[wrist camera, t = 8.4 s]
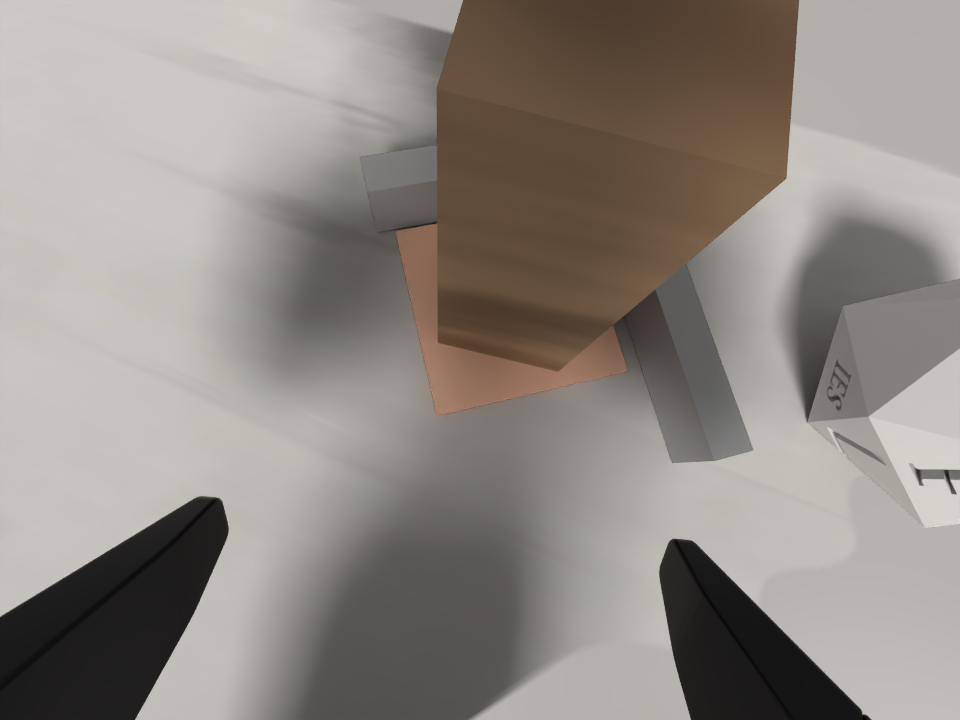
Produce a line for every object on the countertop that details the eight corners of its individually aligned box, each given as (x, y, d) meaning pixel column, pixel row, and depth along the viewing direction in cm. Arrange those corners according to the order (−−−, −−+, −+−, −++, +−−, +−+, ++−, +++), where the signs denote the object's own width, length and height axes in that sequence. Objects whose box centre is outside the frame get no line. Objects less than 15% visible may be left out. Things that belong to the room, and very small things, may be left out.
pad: (624, 371, 20) (627, 370, 19) (437, 415, 19) (437, 415, 18) (571, 202, 21) (573, 199, 21) (395, 234, 20) (395, 231, 20)
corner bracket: (705, 453, 19) (753, 450, 16) (441, 524, 18) (441, 534, 15) (606, 161, 22) (631, 114, 19) (370, 201, 21) (359, 156, 18)
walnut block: (557, 371, 19) (785, 178, 7) (437, 342, 19) (436, 88, 6) (578, 261, 20) (804, -79, 8) (465, 233, 20) (511, -160, 8)
